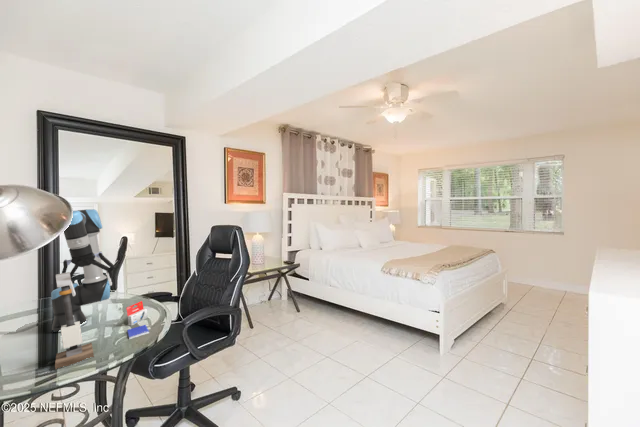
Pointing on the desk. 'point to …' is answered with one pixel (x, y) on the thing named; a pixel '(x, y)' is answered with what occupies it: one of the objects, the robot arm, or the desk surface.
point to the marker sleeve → (71, 335)
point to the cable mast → (74, 352)
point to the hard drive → (137, 331)
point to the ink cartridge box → (136, 313)
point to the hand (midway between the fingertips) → (93, 289)
